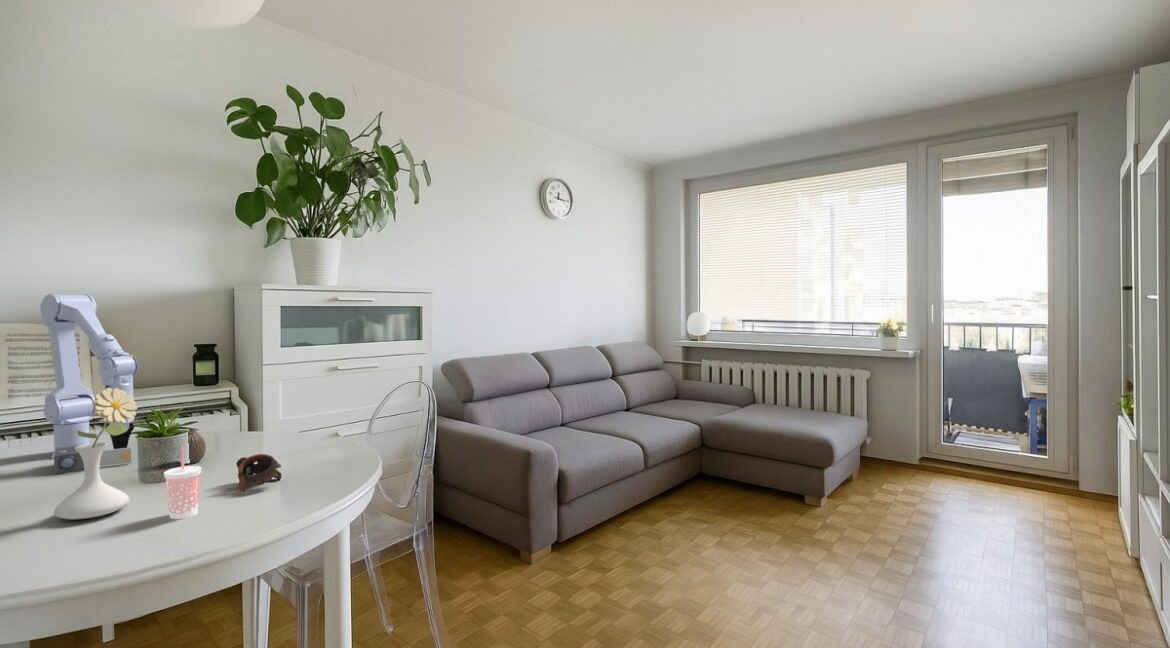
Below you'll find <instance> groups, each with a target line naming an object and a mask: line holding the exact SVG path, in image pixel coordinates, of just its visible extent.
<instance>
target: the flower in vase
mask: <svg viewBox="0 0 1170 648" xmlns="http://www.w3.org/2000/svg"><path fill="white" fill-rule="evenodd" d="M101 393H102V394H101ZM101 393H97V394H96V395H95V396H94V401H95V402H96V403H94V406H95V413H96V414H97V415H98V416H99V418H102V419H103V420H104V421H105V423H104V424H103V427H102V428H101V430H100V432H99V433H98V434H96V433H90V432H89V433H85V432H81V431H79V430H78V431H77V432H78V435H79V436H81V437H86V438H90V439H95V440H94V442H92V443H91V442H90V444H84V445H79V446H76V447H75V450H77V451H78V452H79V454H80V455H81V457H82V460H83V463H84V470H83V471H84V478H83V481H82V484H81V485H80V486H79V487H78V488H77V489H76V490H75V491H73V492H72V493H71V494H69V495H68V496H67V497H65V498H64V499H63V500H62V501H61V502H59V504H58V505H56V507H55V508H54V511H53V515H54V516H55V517H56V518H58V519H62V520H85V519H91V518H97V517H102V516H104V515H108V514H111V513H114V512H116V511H119V510H120V509H122V508H125V507H126V506H127V505H128V504H129V502H130V497H129V496H128V494H127V493H125V492H123V491H122V490H120V489H118V488H115V487H113V486H112V485H109V484H107V483H105V482H104V481H103V480H102V478H101V475H100V474H101V473H100V466H99V465H100V458H101V455H102V452H103V450H106V448H107V446H109V445H108V443H107V442H98V441H99V439H100V437H101V436H102V434H103V432H104V431H105V432H106V433H107V434H108V435H109V436H110V435H113V436H116V435H120V434H122V433H124V432H126V431H127V430H128V429H127V428H126V427H124V426H122V425H120V424H115V422H117V423H126V422H127V421H128V420H127V418H128V419H132V418H133V416H137V412H136V411H137V410H138V406H137V403H136V401H135V399H134V398H133V399H132V396H130V395H126V392H124V391H123V390H119V389H118V388H115V389H114V390H112V389H110V388H107V389H106V390H105V389H103V390H101ZM107 421H109V422H112V423H114V424H109V425H108V426H107V424H108V423H107ZM105 427H106V428H105Z"/></svg>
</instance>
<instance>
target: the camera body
mask: <svg viewBox="0 0 1170 648" xmlns="http://www.w3.org/2000/svg"><path fill="white" fill-rule="evenodd" d="M82 445H84V444H82ZM76 446H79V445H74V446H65V447H57V448H56V451H55V454H54V458H53V462H54V463H53V464H54V465H53V467H54V468H53V469H54V471H53V472H54V473H58V474H65V473H70V472H69V471H72V472H78V471H77V470H79V471H83V470H82V469H84V463H83V460H82V457H81V455H80V454H79V452H78V451H77V450H75V447H76ZM64 472H65V473H64Z"/></svg>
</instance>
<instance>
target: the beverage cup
mask: <svg viewBox="0 0 1170 648" xmlns="http://www.w3.org/2000/svg"><path fill="white" fill-rule="evenodd" d="M180 464H181V465H180V466H179V467H173V468H169V469H167V470H166V471H165V470H164V472H163V475H164V476H163V478H164V479H165V484H166V493H167V494H166V496H167V503H168V504H167V505H168V515H169V518H170V519H173V520H180V519H188V518H190V517H194V516H196V515H197V514H198V511H199V498H200V497H199V493H200V492H199V491H200V477H201V473H202V467H201V466H199V465H186V466H185V464H184V445H181V463H180Z"/></svg>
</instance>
